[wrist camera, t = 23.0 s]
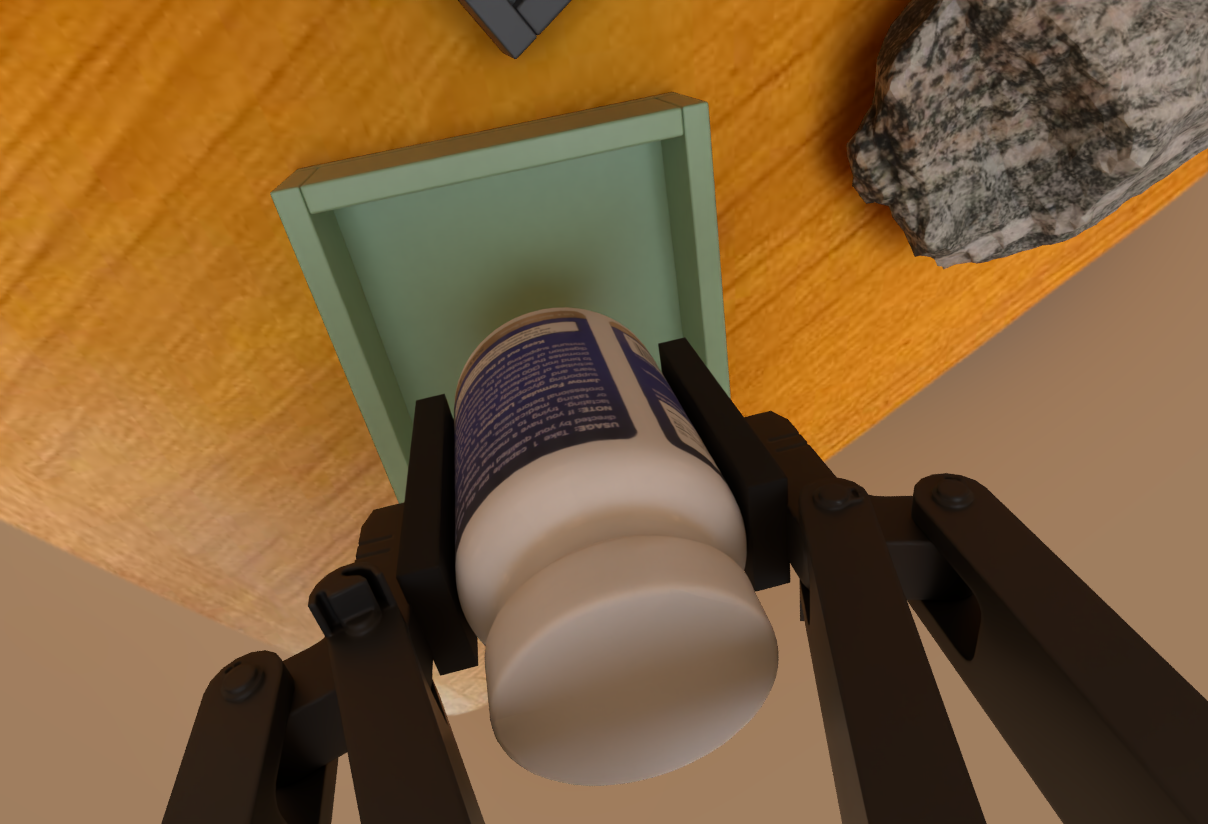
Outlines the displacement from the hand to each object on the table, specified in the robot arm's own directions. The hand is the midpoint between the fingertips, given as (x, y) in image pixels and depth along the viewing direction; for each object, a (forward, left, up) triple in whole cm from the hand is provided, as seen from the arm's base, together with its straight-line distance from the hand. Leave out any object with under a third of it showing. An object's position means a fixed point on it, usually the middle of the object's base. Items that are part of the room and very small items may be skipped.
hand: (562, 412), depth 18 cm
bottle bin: (0, 0, -8) cm, 8 cm away
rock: (+20, +6, -8) cm, 23 cm away
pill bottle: (0, 0, -1) cm, 1 cm away
